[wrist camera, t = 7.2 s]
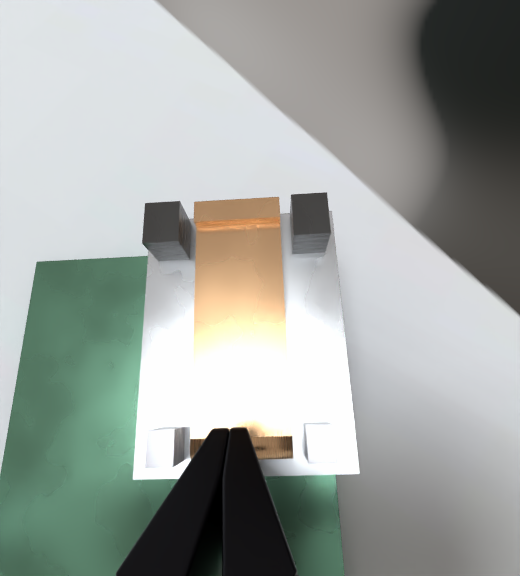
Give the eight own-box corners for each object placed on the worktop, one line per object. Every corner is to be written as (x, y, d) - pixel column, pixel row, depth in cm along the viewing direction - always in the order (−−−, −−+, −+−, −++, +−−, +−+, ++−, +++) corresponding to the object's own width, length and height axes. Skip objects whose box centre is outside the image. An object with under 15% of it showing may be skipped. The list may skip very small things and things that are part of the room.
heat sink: (348, 636, 14) (418, 879, 7) (-21, 638, 15) (-304, 863, 8) (314, 250, 19) (335, 161, 12) (41, 264, 20) (-93, 188, 13)
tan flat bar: (292, 456, 11) (294, 462, 10) (196, 459, 11) (186, 465, 10) (279, 215, 14) (279, 196, 12) (202, 219, 14) (194, 202, 13)
